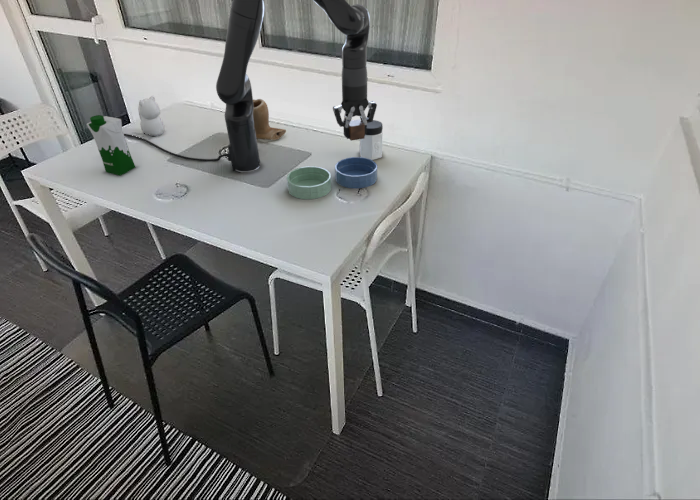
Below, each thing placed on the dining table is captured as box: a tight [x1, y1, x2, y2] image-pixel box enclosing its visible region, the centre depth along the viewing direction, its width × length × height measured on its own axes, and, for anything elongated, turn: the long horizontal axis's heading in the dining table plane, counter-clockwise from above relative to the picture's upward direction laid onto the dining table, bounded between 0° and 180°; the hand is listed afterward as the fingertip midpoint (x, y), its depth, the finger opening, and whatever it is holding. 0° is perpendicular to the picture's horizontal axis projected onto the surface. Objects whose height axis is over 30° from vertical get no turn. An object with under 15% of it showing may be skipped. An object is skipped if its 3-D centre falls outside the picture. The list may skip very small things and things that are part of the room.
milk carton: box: [86, 114, 136, 177], centre depth 155 cm, size 9×9×20 cm
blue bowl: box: [334, 156, 378, 189], centre depth 151 cm, size 14×14×5 cm
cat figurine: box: [137, 95, 165, 137], centre depth 183 cm, size 9×12×15 cm
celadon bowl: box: [286, 165, 332, 200], centre depth 146 cm, size 14×14×5 cm
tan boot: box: [253, 98, 287, 141], centre depth 178 cm, size 15×12×15 cm
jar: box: [359, 119, 384, 161], centre depth 164 cm, size 9×8×12 cm
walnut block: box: [348, 118, 365, 141], centre depth 142 cm, size 5×5×5 cm
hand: (355, 136), depth 143 cm, fingers closed on walnut block, 4 cm apart
